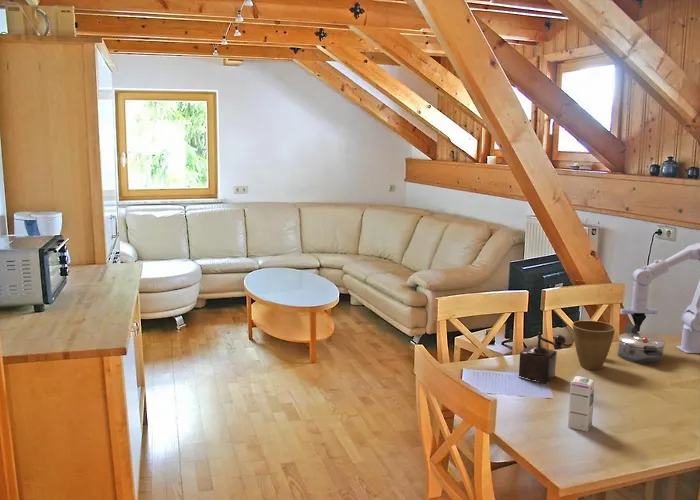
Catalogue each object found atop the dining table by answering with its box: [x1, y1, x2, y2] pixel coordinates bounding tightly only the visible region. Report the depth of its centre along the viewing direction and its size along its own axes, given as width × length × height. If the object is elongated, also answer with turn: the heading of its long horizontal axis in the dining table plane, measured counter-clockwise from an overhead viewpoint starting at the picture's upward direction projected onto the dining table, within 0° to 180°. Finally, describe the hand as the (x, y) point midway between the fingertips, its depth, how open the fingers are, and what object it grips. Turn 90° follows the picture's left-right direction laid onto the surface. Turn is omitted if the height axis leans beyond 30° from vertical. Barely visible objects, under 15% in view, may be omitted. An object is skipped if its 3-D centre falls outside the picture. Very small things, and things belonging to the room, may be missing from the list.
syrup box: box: [567, 375, 596, 433], centre depth 189 cm, size 6×6×14 cm
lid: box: [618, 322, 666, 351], centre depth 252 cm, size 25×17×3 cm, turn 175°
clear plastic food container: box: [617, 340, 665, 365], centre depth 252 cm, size 23×16×6 cm
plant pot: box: [572, 319, 616, 371], centre depth 239 cm, size 15×15×16 cm
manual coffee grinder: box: [518, 331, 566, 384], centre depth 226 cm, size 16×11×18 cm
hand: (636, 331), depth 261 cm, fingers closed
